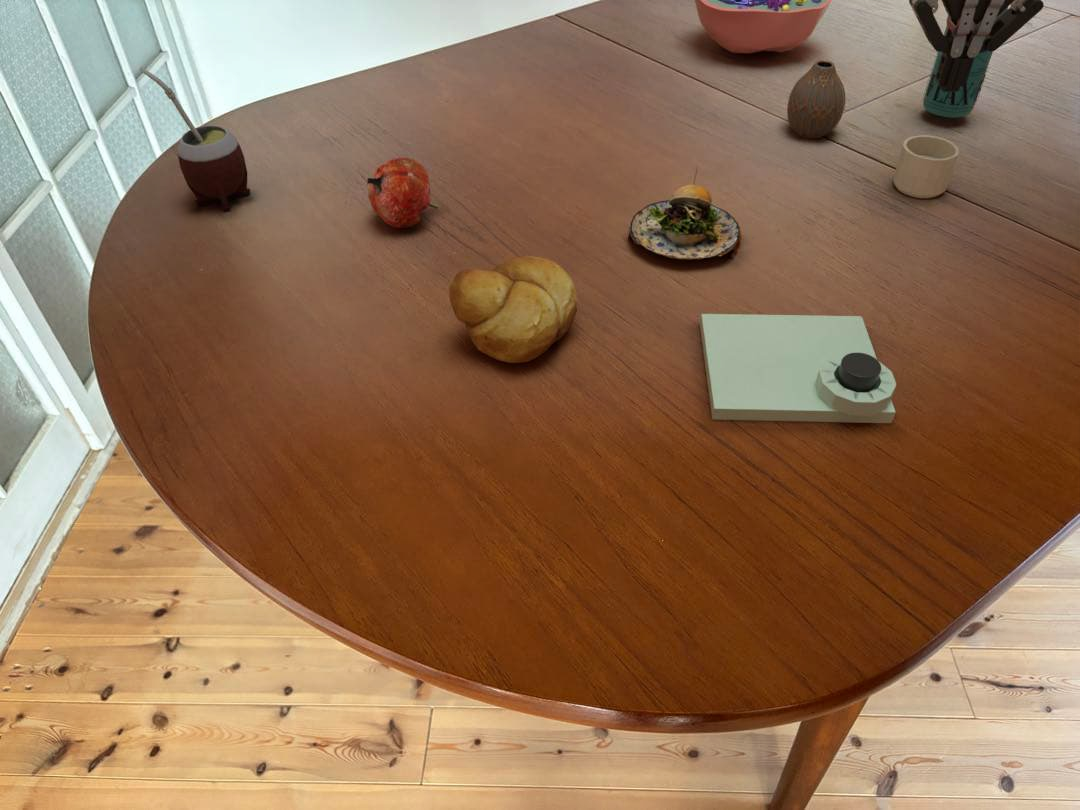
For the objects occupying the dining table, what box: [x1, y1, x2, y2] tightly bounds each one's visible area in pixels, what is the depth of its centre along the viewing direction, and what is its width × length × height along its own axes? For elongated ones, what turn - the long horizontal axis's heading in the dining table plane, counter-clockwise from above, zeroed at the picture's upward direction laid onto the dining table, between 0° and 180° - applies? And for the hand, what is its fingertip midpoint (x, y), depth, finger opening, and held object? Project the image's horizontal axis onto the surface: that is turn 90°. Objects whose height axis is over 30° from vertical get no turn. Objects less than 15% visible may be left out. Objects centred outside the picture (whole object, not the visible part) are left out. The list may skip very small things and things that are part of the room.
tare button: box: [837, 353, 881, 393], centre depth 72 cm, size 3×3×2 cm
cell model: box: [694, 0, 833, 54], centre depth 126 cm, size 17×20×11 cm
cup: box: [892, 134, 960, 199], centre depth 98 cm, size 6×6×5 cm
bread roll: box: [448, 255, 579, 364], centre depth 79 cm, size 13×10×8 cm
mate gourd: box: [139, 67, 251, 213], centre depth 96 cm, size 8×8×15 cm
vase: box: [786, 59, 846, 139], centre depth 108 cm, size 7×7×9 cm
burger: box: [627, 168, 742, 261], centre depth 90 cm, size 12×12×8 cm
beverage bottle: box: [922, 6, 1009, 118], centre depth 106 cm, size 6×7×20 cm
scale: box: [699, 313, 897, 424], centre depth 76 cm, size 15×14×3 cm
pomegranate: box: [366, 157, 439, 229], centre depth 95 cm, size 7×7×10 cm
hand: (948, 88), depth 91 cm, fingers closed
